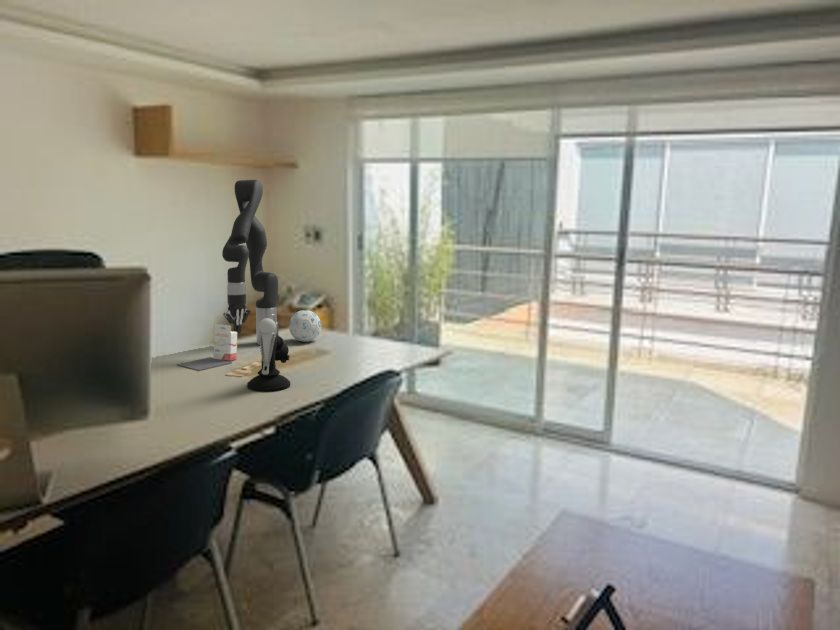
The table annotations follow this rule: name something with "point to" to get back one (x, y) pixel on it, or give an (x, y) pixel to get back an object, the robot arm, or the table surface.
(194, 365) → the rubber mat
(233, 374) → the beech turner
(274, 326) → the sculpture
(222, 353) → the ink cartridge box
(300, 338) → the puzzle ball
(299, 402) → the table surface
